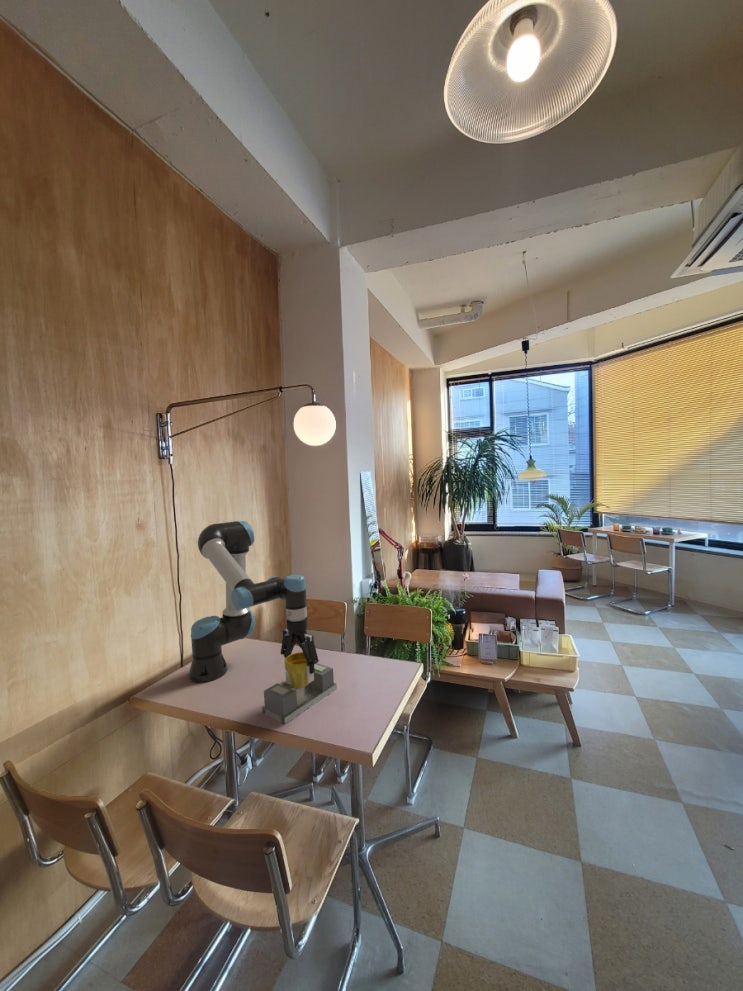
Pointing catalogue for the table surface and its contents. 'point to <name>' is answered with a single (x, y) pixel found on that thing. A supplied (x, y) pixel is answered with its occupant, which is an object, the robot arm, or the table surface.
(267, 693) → the module near
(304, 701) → the rail
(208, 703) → the table surface
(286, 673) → the block
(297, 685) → the plant pot
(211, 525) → the robot arm
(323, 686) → the block
